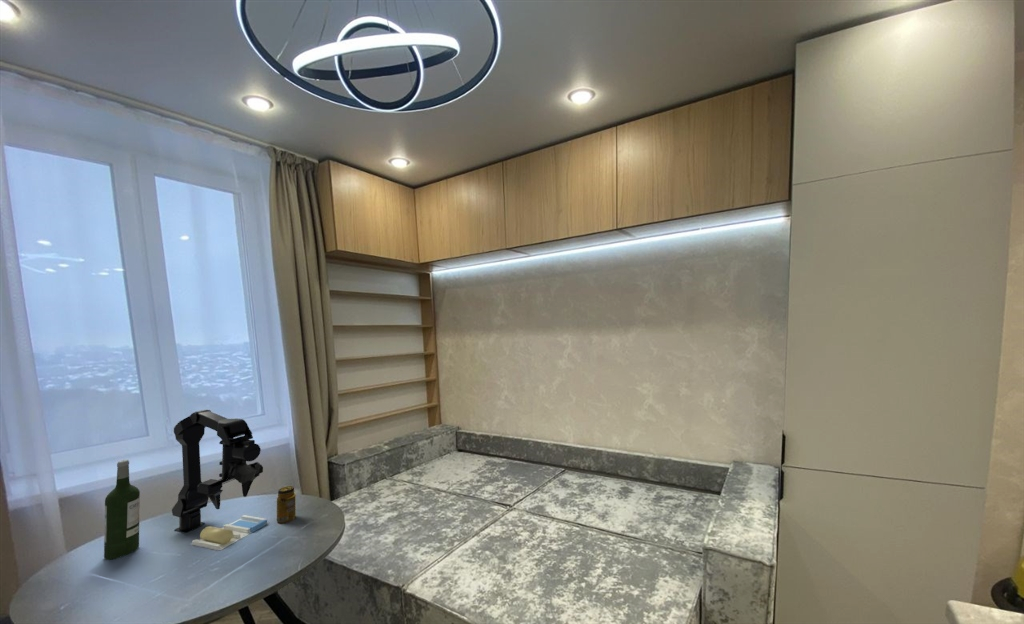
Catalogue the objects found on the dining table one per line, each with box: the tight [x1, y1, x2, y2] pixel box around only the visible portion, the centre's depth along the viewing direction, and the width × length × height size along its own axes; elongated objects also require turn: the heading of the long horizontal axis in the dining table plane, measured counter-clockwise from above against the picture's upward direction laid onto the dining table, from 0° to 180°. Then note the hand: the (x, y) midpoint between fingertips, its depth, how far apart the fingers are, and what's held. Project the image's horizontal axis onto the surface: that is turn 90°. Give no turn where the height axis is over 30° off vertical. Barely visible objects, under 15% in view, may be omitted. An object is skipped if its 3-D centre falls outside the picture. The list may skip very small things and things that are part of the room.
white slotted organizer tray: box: [190, 514, 270, 551], centre depth 130 cm, size 14×18×2 cm
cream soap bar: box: [199, 525, 233, 544], centre depth 125 cm, size 10×4×4 cm, turn 73°
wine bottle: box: [103, 459, 141, 561], centre depth 121 cm, size 8×8×30 cm
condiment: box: [276, 485, 297, 525], centre depth 137 cm, size 7×8×12 cm
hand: (231, 502), depth 126 cm, fingers open, 9 cm apart
